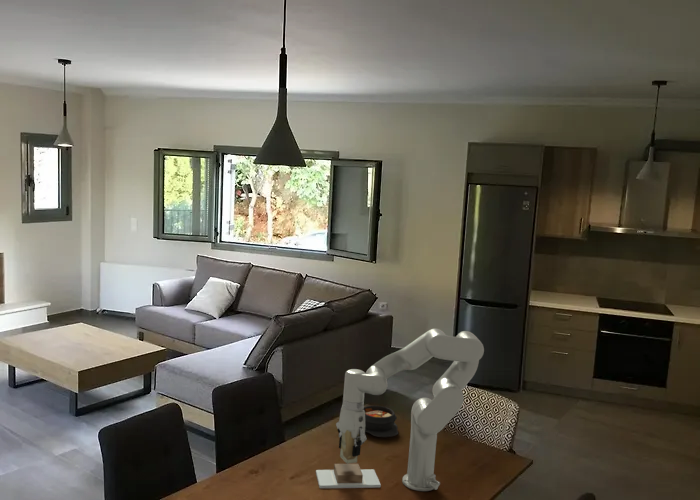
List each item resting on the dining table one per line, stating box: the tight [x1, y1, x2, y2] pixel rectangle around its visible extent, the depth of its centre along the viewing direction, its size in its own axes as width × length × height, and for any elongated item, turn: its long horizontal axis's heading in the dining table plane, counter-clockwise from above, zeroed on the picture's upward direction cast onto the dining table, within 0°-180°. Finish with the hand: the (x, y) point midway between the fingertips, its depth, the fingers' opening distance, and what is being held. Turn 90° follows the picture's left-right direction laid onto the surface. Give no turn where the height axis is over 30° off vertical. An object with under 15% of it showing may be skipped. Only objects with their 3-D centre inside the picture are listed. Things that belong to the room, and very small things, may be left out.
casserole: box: [363, 405, 399, 438], centre depth 276 cm, size 25×19×8 cm
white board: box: [315, 468, 382, 489], centre depth 228 cm, size 22×12×1 cm, turn 100°
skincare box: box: [339, 430, 359, 464], centre depth 226 cm, size 6×4×12 cm
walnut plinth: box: [333, 463, 363, 483], centre depth 228 cm, size 9×9×3 cm
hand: (349, 451), depth 227 cm, fingers closed on skincare box, 7 cm apart
